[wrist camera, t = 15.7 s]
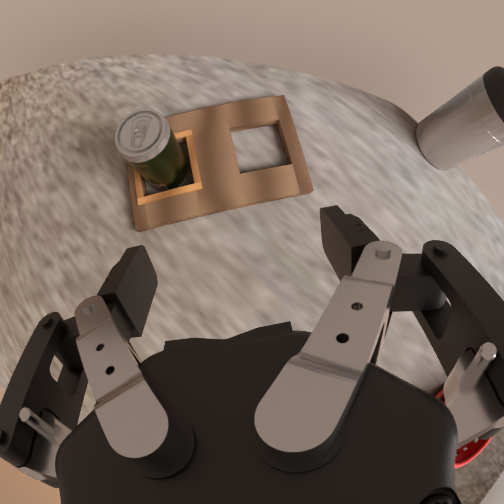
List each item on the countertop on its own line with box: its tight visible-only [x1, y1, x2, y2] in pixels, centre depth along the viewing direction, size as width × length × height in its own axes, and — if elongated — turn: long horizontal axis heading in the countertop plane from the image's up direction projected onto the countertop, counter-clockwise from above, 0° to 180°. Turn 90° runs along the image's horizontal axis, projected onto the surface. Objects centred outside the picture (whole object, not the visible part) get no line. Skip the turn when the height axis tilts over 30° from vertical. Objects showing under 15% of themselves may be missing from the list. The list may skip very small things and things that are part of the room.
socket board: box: [126, 95, 314, 232], centre depth 33 cm, size 22×14×2 cm, turn 103°
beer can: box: [115, 109, 188, 190], centre depth 27 cm, size 5×5×12 cm
